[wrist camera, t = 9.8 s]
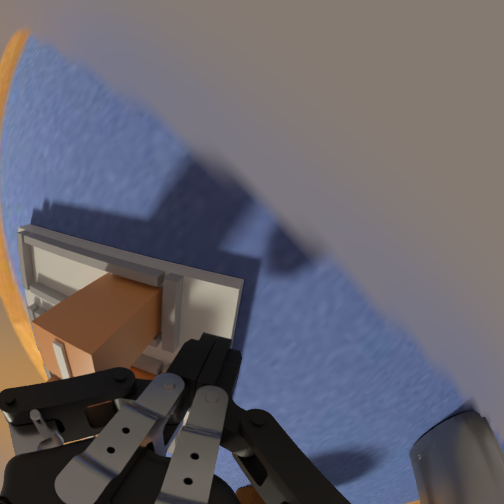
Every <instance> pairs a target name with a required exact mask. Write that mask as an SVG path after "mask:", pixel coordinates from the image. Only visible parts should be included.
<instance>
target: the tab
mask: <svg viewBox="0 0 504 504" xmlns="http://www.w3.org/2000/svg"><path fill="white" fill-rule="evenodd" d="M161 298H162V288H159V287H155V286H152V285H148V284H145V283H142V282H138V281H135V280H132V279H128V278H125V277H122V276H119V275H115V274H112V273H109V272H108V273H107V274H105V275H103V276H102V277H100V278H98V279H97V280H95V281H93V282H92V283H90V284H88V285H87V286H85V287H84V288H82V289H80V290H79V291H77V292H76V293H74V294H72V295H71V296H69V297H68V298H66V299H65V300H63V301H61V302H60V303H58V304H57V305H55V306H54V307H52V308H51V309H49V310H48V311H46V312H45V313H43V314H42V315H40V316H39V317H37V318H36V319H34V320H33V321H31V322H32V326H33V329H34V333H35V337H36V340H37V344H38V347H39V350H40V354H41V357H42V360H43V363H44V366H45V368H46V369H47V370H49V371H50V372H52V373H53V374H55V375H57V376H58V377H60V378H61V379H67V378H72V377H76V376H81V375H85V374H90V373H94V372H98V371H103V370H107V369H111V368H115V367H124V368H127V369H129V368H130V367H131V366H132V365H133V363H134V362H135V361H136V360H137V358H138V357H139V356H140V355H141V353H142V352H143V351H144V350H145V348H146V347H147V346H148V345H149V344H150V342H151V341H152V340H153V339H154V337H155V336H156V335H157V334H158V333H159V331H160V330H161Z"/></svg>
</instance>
